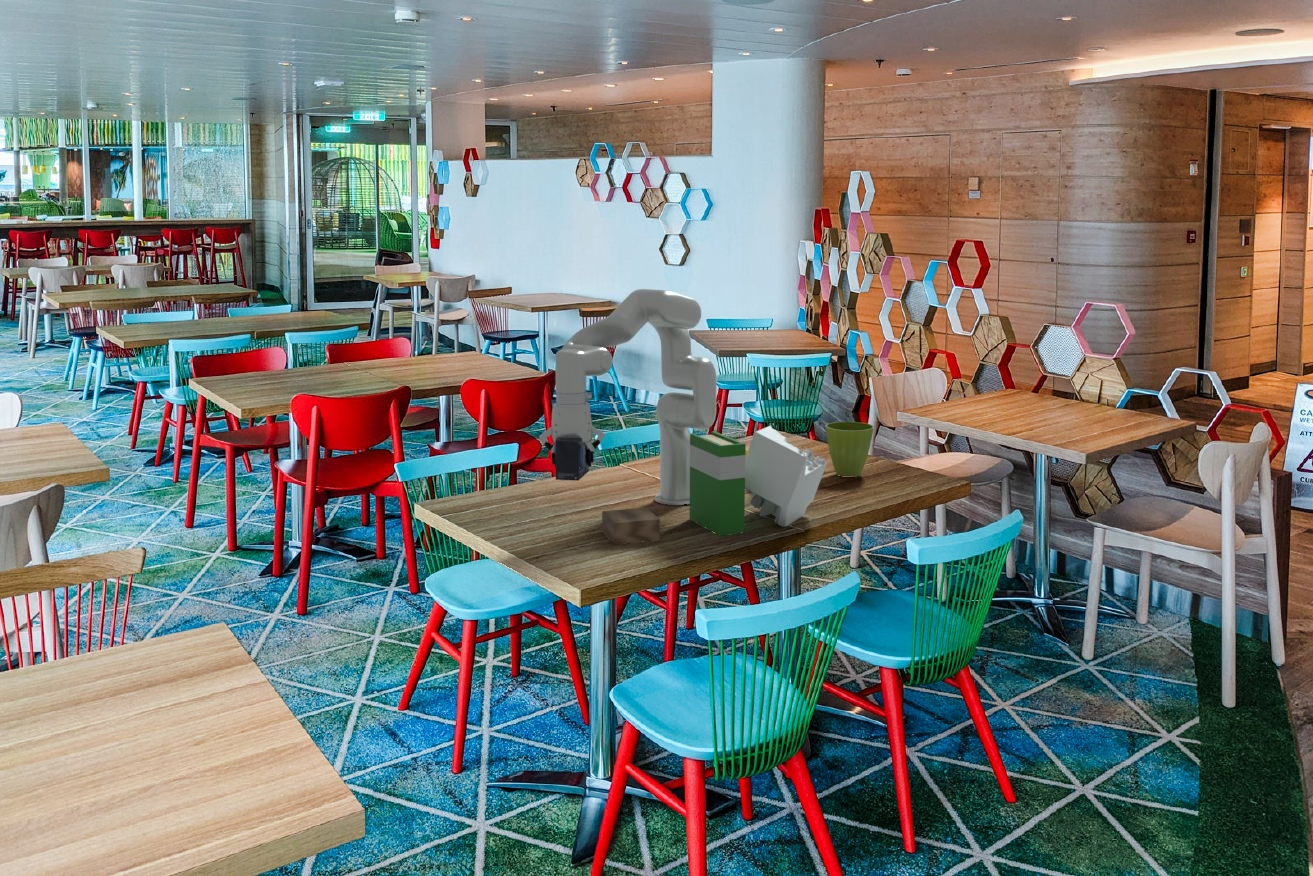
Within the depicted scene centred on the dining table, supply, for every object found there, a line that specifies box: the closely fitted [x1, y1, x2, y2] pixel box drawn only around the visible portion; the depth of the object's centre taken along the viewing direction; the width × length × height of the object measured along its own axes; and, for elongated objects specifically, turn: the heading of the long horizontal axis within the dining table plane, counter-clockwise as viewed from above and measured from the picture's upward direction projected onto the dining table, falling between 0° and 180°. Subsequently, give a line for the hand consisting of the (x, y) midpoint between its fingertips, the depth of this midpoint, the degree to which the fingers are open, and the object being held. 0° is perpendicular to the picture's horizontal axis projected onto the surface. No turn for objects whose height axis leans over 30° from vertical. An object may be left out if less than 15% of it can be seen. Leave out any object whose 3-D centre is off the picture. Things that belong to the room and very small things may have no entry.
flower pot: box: [825, 421, 874, 477], centre depth 365 cm, size 15×15×16 cm
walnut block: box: [601, 507, 661, 546], centre depth 301 cm, size 12×12×6 cm
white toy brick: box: [745, 425, 828, 528], centre depth 314 cm, size 20×16×25 cm
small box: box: [555, 438, 590, 482], centre depth 295 cm, size 11×6×10 cm, turn 169°
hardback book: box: [689, 430, 747, 537], centre depth 308 cm, size 18×7×24 cm, turn 24°
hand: (572, 465), depth 295 cm, fingers closed on small box, 8 cm apart
